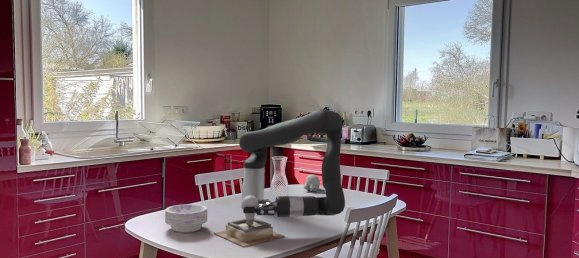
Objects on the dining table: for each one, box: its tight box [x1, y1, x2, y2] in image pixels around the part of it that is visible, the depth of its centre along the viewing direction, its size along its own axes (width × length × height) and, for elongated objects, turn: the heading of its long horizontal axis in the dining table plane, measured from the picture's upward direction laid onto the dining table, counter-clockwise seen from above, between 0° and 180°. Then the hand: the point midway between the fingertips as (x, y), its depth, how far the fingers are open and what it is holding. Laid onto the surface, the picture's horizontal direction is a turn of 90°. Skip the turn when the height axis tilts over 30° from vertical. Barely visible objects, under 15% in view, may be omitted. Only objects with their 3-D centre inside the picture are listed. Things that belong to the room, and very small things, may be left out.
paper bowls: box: [164, 203, 208, 233], centre depth 175 cm, size 15×15×8 cm
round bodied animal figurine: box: [303, 174, 321, 192], centre depth 247 cm, size 7×12×8 cm, turn 148°
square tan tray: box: [213, 217, 286, 248], centre depth 169 cm, size 18×18×4 cm
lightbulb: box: [241, 195, 259, 226], centre depth 168 cm, size 6×6×11 cm
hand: (242, 207), depth 168 cm, fingers open, 5 cm apart
